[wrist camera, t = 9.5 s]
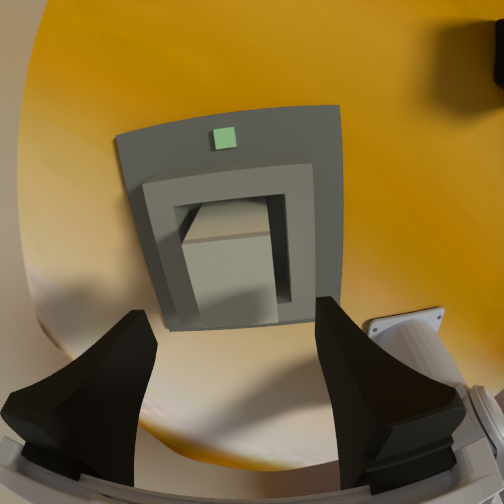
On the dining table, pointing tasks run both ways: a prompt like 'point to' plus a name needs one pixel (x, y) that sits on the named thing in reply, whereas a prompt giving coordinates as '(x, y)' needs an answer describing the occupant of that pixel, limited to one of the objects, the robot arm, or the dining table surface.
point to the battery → (499, 53)
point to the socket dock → (237, 187)
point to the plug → (232, 263)
